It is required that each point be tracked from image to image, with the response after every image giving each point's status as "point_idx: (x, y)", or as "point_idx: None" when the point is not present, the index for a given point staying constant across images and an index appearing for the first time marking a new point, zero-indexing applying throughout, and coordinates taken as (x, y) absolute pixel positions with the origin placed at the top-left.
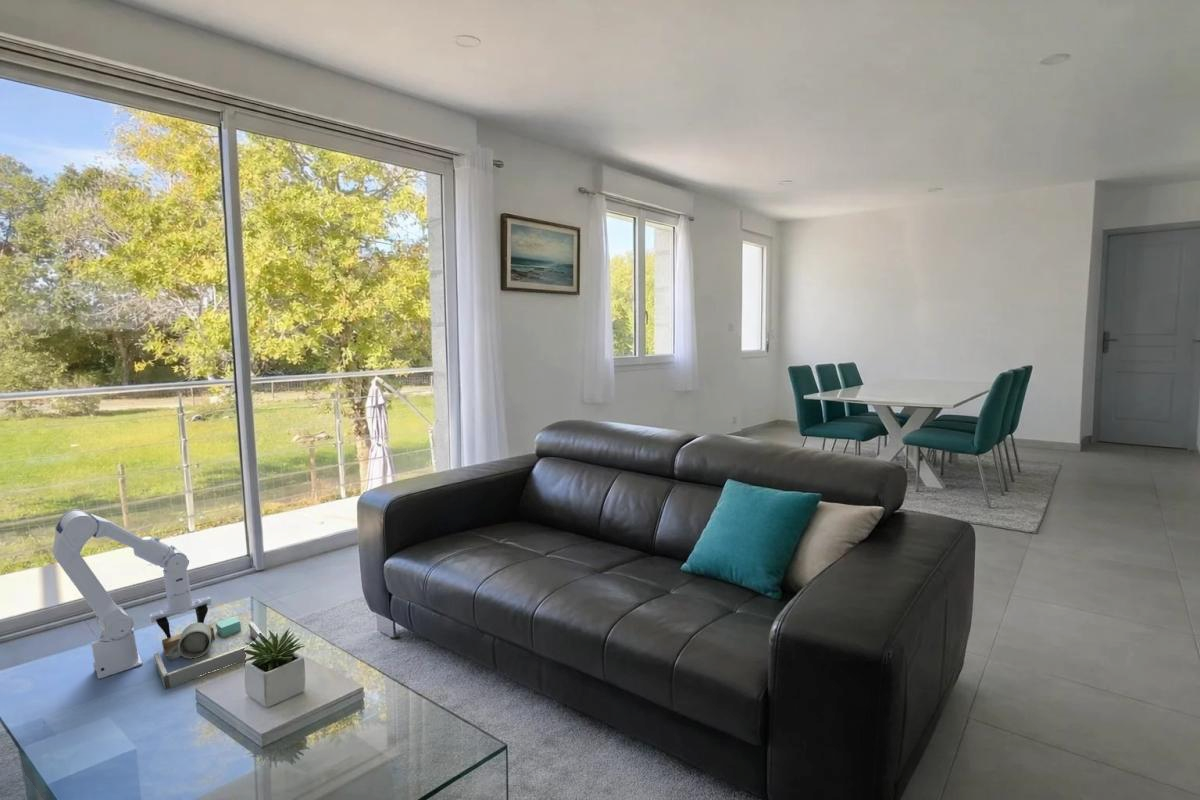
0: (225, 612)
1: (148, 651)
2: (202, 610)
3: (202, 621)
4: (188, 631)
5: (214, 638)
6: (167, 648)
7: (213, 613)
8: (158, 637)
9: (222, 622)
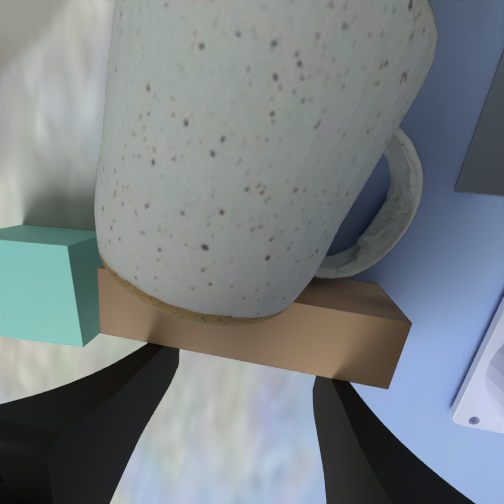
0: None
1: (403, 398)
2: (4, 442)
3: (120, 365)
4: (318, 19)
5: None
6: (376, 299)
7: None
8: (314, 477)
9: (51, 316)
